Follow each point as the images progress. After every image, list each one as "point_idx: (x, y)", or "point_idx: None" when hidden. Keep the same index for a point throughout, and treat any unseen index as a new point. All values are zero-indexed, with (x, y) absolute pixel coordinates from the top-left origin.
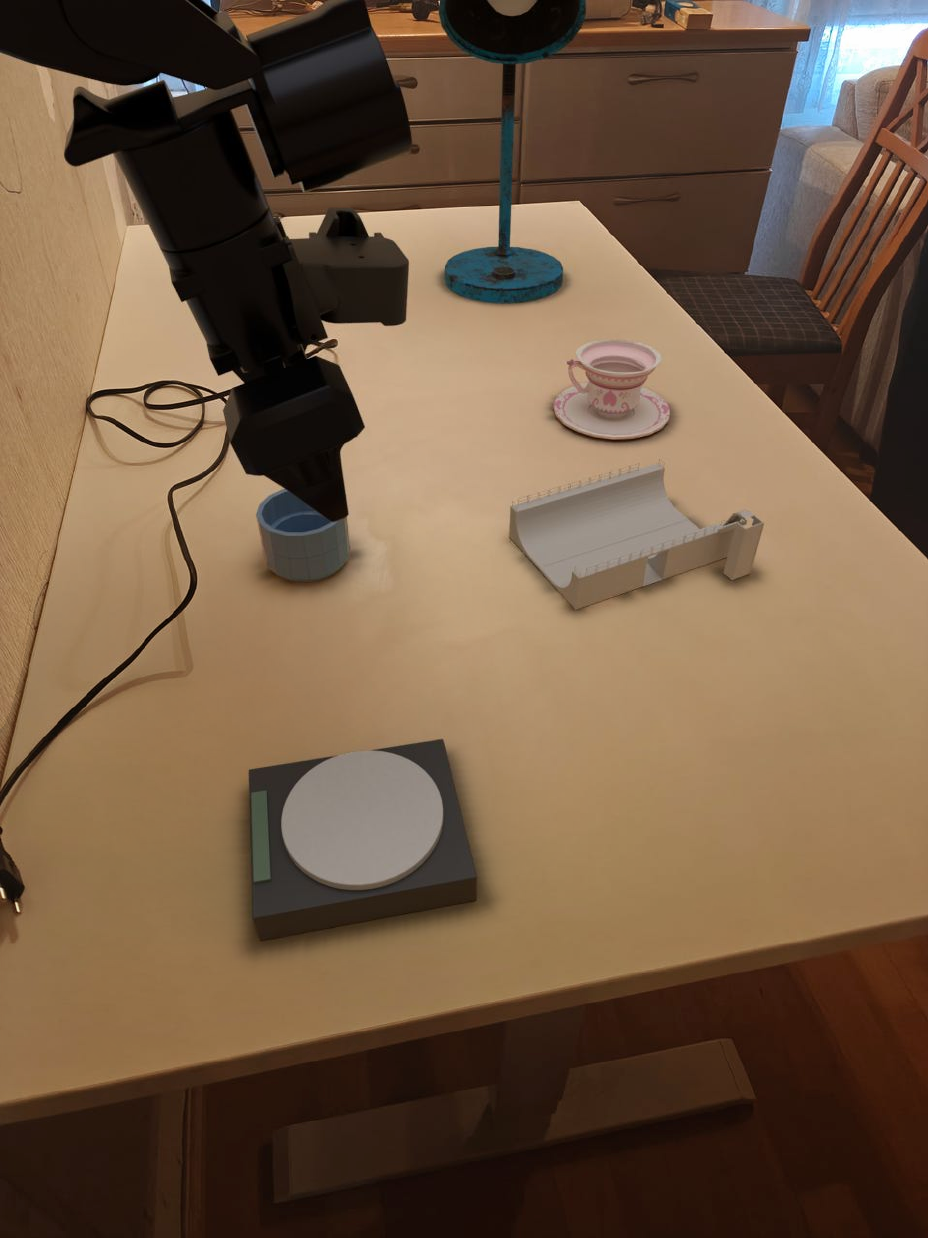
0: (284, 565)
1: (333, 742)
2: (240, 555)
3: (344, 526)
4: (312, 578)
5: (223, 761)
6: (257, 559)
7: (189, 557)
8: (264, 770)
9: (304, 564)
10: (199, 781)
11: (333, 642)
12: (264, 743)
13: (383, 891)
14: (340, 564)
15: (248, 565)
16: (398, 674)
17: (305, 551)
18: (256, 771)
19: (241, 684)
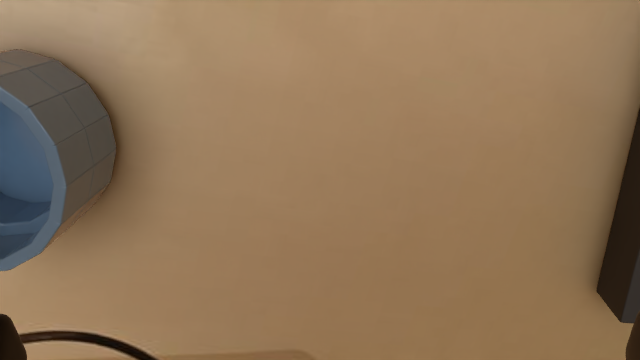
0: (90, 202)
1: (541, 167)
2: None
3: (11, 74)
4: (115, 144)
5: (514, 324)
6: None
7: None
8: (633, 301)
9: (100, 166)
10: (539, 356)
11: (296, 127)
12: (501, 267)
13: None
14: (81, 82)
15: None
16: (418, 22)
17: (85, 171)
18: (631, 313)
19: (359, 287)
